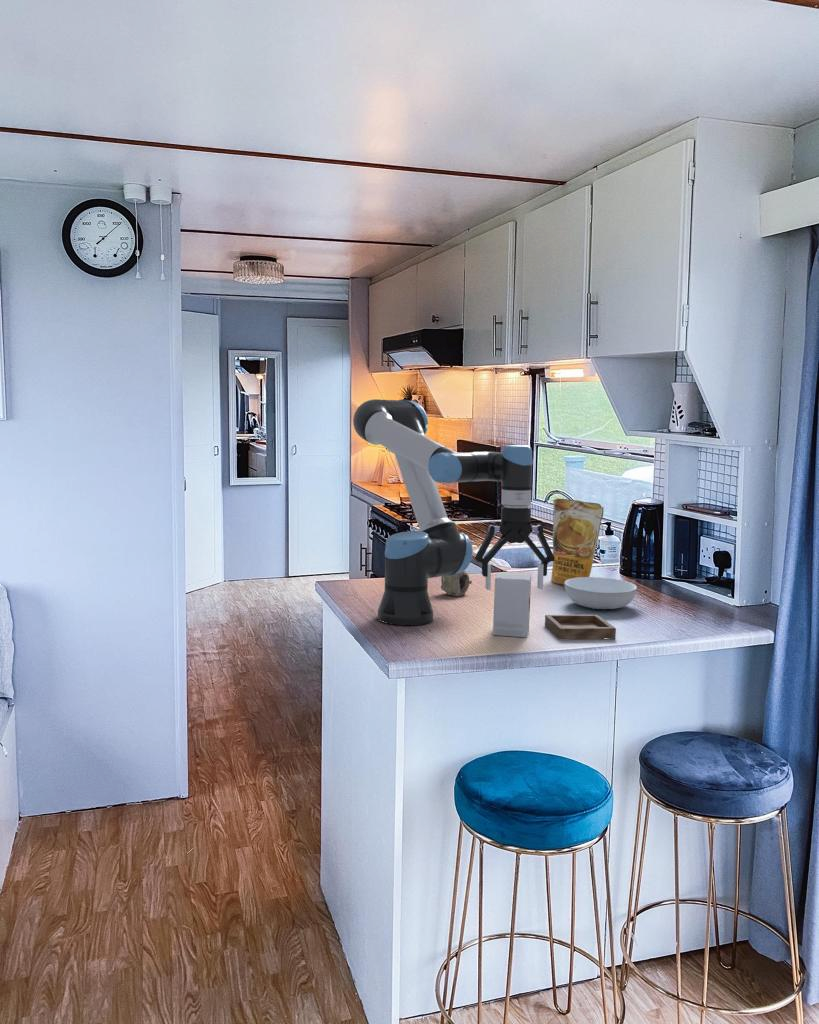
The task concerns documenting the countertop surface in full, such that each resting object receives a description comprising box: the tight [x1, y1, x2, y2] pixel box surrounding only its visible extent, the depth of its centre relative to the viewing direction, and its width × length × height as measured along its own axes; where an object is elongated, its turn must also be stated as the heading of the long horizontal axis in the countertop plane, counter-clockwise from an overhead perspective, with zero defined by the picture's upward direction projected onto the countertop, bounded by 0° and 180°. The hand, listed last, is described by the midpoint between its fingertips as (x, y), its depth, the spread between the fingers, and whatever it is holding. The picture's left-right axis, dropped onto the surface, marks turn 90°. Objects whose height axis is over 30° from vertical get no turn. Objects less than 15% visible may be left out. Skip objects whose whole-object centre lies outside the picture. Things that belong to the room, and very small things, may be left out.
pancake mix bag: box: [550, 498, 604, 586], centre depth 284 cm, size 7×19×28 cm, turn 39°
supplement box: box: [492, 571, 532, 639], centre depth 222 cm, size 9×9×15 cm
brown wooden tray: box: [544, 614, 617, 640], centre depth 225 cm, size 14×14×3 cm
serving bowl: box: [564, 576, 638, 610], centre depth 254 cm, size 21×21×7 cm
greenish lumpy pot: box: [440, 570, 473, 597], centre depth 267 cm, size 9×8×10 cm
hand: (514, 588), depth 221 cm, fingers open, 13 cm apart
